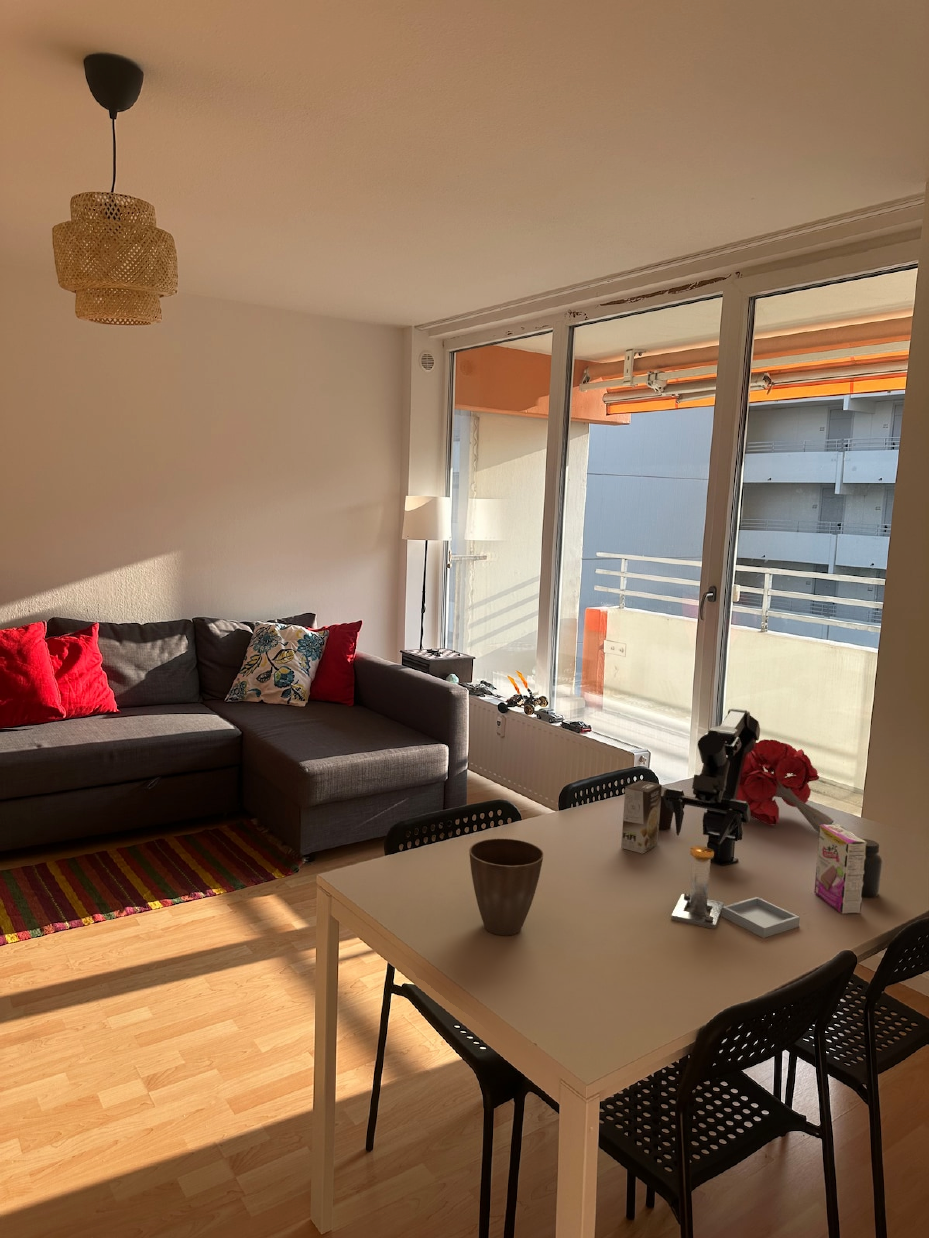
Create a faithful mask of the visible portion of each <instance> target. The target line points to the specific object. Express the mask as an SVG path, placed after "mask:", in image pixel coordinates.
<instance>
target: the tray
mask: <svg viewBox="0 0 929 1238" xmlns="http://www.w3.org/2000/svg"><path fill="white" fill-rule="evenodd" d="M721 917H722V918H723V919H726V920H728V921H730V922H732V923H733V924H736V925H737V926H740V927H742V928H744V929H746V930H747V931H749V932H752V933H753V934H755V935H757V936H759V937H761V938H763V939H765V938H768V937H772V936H774V935H777V934H780V933H784V932H786V931H789V930H793V929H796V928H799V927H800V919H801V918H800V916H798V915H797V914H794V913H792V912H791V911H788V910H786V909H784V908H782V907H780V906H777V905H775V904H773V903H771V902H769V901H767V900H765V899H763V898H761V897H759V896H754V897H752V898H748V899H744V900H741V901H737V902H734V903H732V904H728V905H723V907H722V912H721Z"/></svg>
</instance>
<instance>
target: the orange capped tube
mask: <svg viewBox="0 0 929 1238" xmlns="http://www.w3.org/2000/svg"><path fill="white" fill-rule="evenodd" d="M690 856H692V864H691V865H692V867H691V868H692V869H691V879H690V880H691V882H690V893H689V894H690V906H688V907H689V909H688V912H691V913H695V914H700V915H705V916H707V912H708V910H707V900H708V899H709V897H708V896H709V884H710V868H711V861H710V859H711V858H713V857H714V851H713V850H712V849H710V848H708V847H707V846H702V845H701V846H700V845H695V846H691V847H690Z"/></svg>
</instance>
